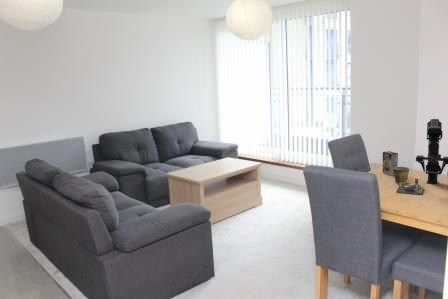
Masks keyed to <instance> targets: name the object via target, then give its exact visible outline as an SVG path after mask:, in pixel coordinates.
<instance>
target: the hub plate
mask: <svg viewBox="0 0 448 299" xmlns="http://www.w3.org/2000/svg"><path fill="white" fill-rule="evenodd" d="M395 192H396V193H398V194H405V195H407V194H409V195H419V196H421V195H422V194H423V192H424V187H423V186H422V184H420V183H418V185H417V186H416V188H415V189H407V188H404V184H403V183H400V184H399V186H398V187H397V189H396V191H395Z"/></svg>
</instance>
